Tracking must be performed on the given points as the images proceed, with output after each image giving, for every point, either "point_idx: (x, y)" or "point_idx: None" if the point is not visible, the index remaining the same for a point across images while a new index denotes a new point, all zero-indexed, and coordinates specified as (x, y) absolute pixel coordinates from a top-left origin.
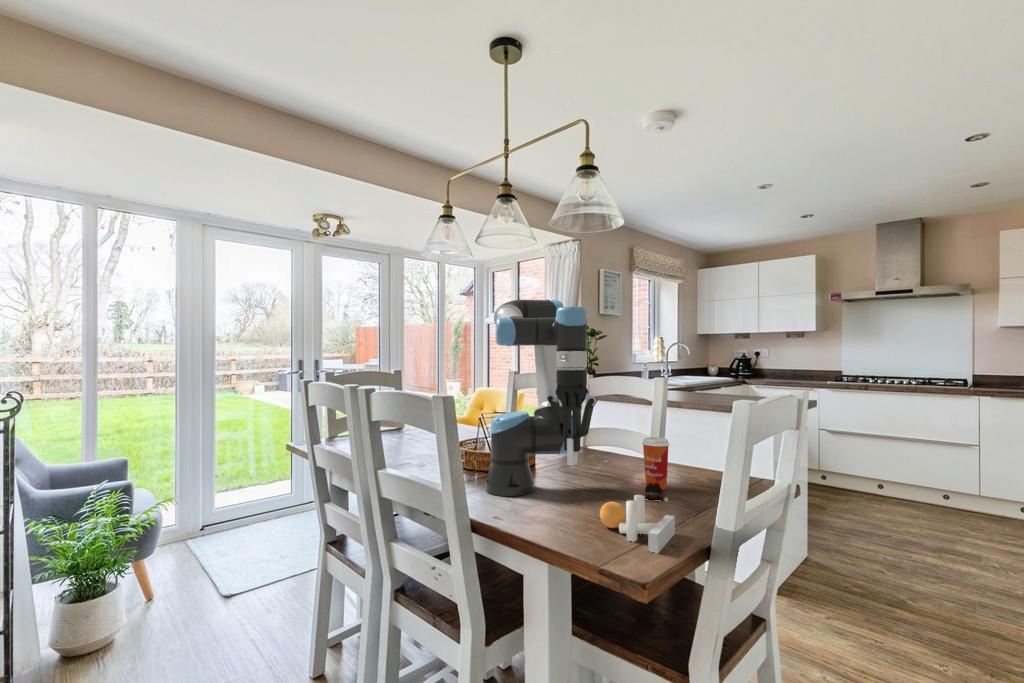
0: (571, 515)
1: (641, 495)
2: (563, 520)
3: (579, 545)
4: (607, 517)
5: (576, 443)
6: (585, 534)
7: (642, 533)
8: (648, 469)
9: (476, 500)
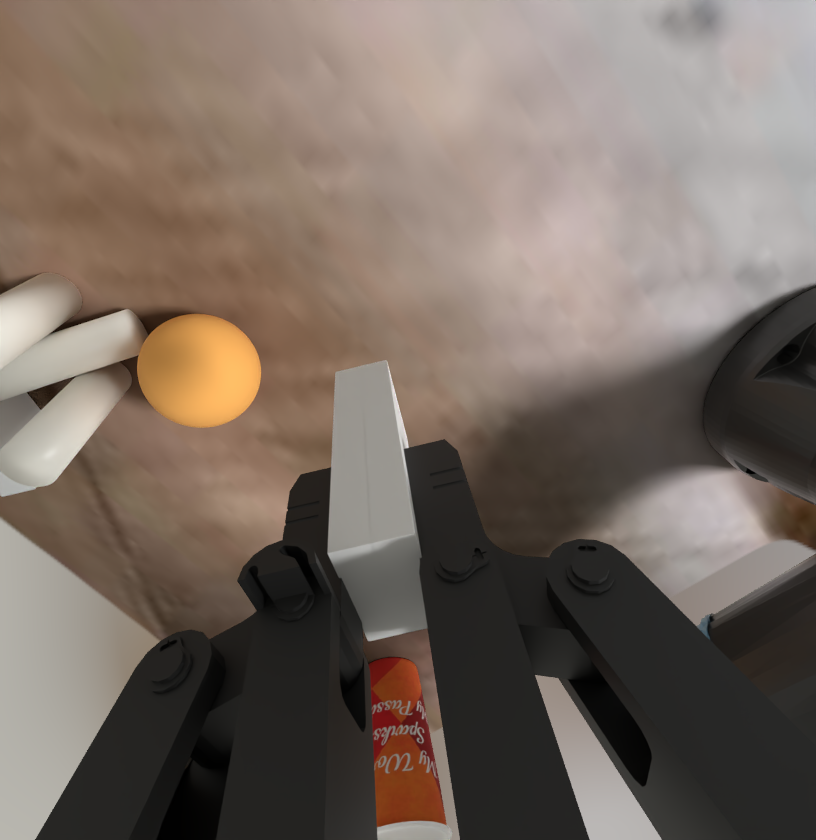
0: (423, 333)
1: (34, 481)
2: (409, 262)
3: (119, 42)
4: (173, 320)
5: (301, 539)
6: (220, 197)
7: None
8: (400, 719)
9: None
